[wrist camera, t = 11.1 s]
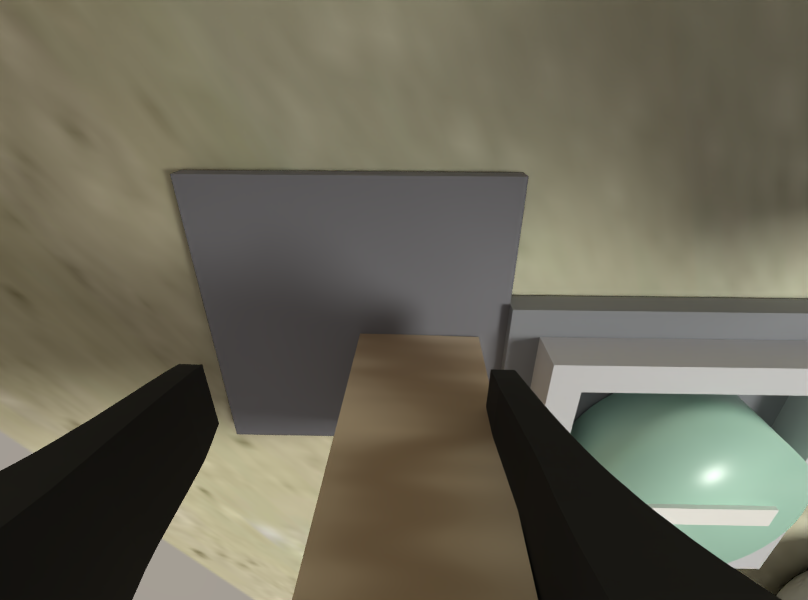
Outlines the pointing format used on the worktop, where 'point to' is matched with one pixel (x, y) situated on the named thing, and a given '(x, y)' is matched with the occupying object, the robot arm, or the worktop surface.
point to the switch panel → (666, 356)
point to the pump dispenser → (795, 588)
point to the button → (700, 465)
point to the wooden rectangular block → (415, 483)
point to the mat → (342, 275)
